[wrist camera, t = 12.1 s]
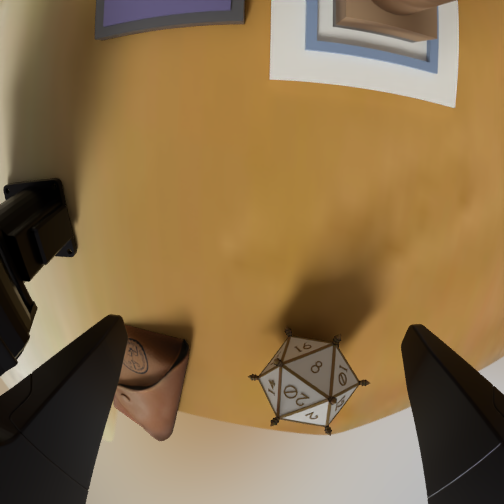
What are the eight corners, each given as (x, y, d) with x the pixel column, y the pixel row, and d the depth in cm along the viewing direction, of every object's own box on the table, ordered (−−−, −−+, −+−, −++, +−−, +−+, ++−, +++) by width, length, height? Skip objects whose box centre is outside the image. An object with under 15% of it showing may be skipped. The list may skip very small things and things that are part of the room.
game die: (283, 325, 31) (212, 394, 24) (329, 284, 24) (247, 371, 18) (343, 385, 29) (286, 461, 23) (402, 359, 23) (344, 460, 16)
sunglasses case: (102, 315, 26) (116, 375, 22) (173, 308, 30) (197, 361, 25) (113, 408, 35) (127, 451, 31) (162, 399, 39) (179, 440, 34)
